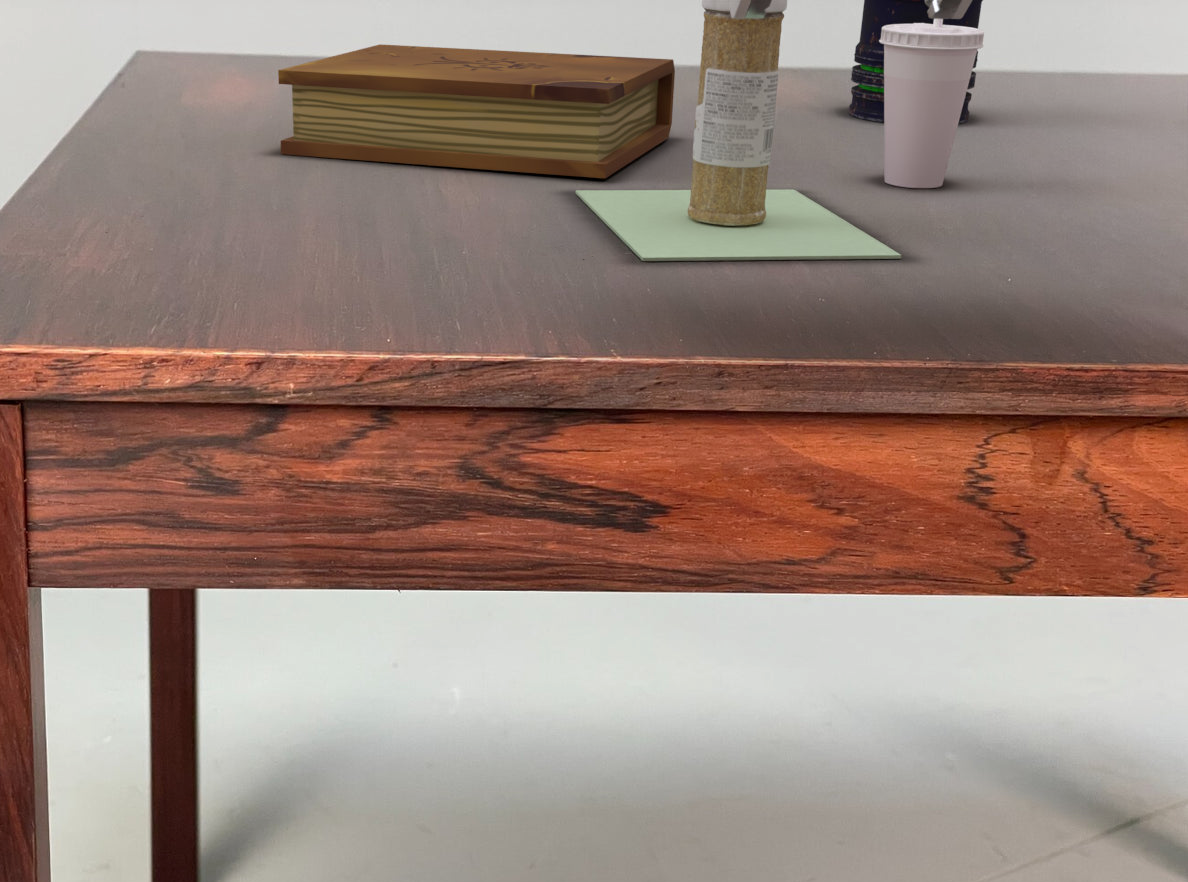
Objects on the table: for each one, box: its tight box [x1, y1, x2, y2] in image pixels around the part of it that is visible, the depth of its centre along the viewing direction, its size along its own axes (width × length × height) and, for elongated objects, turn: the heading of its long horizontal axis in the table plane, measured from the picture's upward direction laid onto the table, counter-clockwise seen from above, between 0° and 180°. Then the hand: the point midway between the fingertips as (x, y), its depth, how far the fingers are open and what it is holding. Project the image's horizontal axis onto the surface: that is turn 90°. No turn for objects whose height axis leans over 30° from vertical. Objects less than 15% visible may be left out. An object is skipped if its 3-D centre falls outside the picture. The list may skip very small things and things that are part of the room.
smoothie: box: [879, 19, 985, 189], centre depth 103 cm, size 6×6×14 cm
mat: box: [575, 189, 902, 262], centre depth 93 cm, size 18×14×1 cm
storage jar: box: [848, 0, 984, 124], centre depth 131 cm, size 10×10×15 cm
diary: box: [277, 43, 676, 179], centre depth 115 cm, size 23×19×6 cm
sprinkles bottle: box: [688, 0, 788, 226], centre depth 90 cm, size 5×5×14 cm
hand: (843, 7), depth 75 cm, fingers open, 8 cm apart
